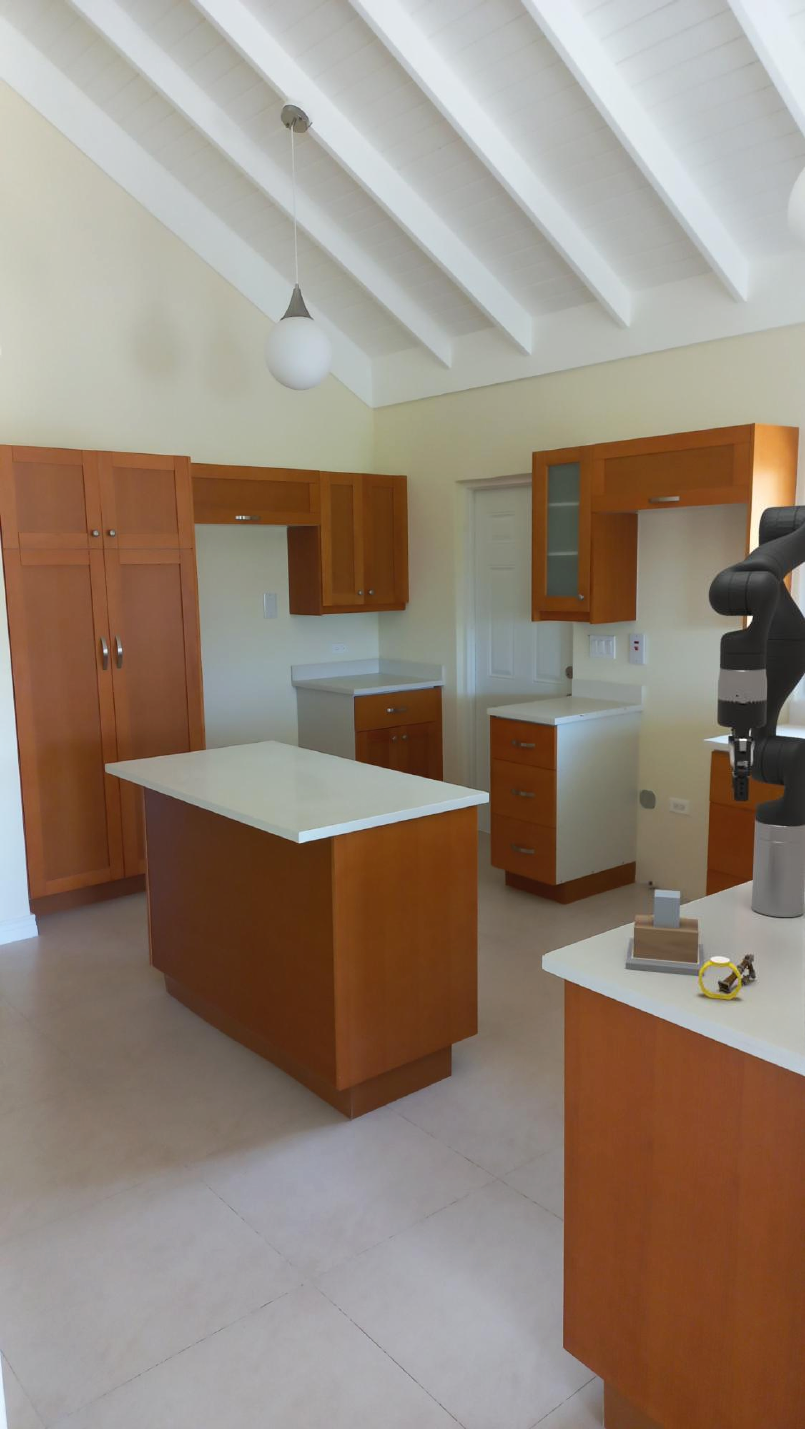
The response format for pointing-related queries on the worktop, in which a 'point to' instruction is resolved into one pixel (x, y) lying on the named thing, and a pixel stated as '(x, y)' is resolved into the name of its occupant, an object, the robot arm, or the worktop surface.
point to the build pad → (664, 963)
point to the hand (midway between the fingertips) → (739, 794)
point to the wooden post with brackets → (731, 979)
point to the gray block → (666, 908)
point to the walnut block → (666, 940)
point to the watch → (720, 962)
